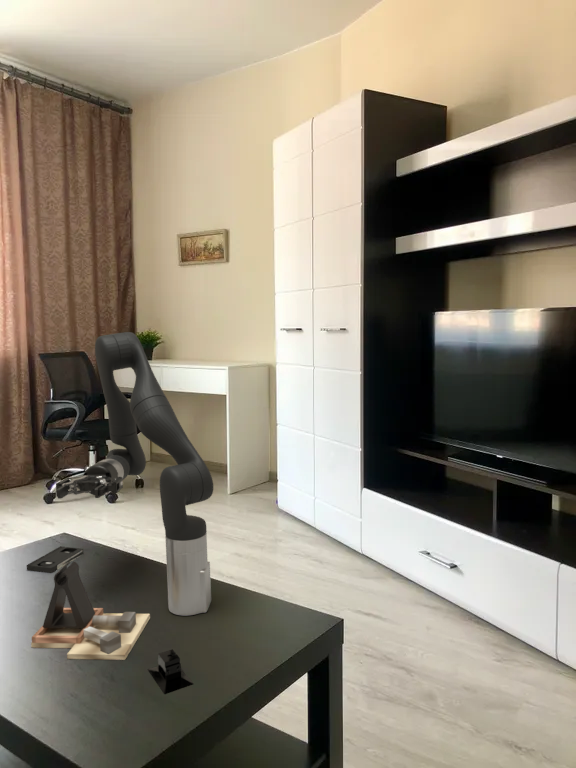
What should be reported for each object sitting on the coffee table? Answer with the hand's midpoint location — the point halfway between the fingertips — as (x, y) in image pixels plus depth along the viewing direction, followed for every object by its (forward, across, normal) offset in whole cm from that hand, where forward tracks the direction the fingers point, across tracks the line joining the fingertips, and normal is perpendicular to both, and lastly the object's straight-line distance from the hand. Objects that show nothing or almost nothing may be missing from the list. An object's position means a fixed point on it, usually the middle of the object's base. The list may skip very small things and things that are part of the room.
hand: (77, 493), depth 137 cm
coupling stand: (+10, +5, +28) cm, 30 cm away
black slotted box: (+24, +25, +29) cm, 45 cm away
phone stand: (+8, 0, +26) cm, 27 cm away
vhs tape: (-31, -20, +28) cm, 46 cm away
